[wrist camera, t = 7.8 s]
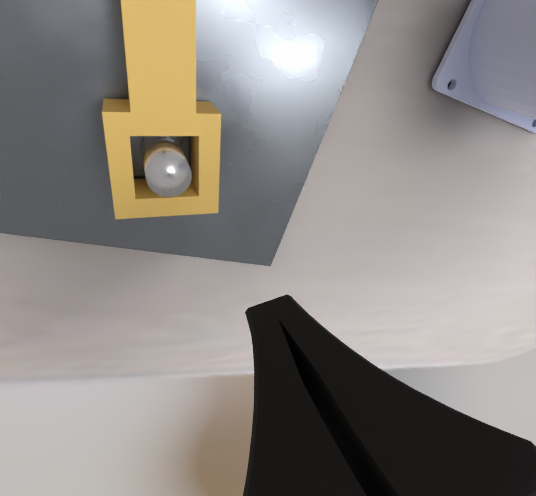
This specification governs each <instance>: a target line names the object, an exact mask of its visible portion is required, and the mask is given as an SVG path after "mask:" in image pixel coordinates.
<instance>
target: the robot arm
mask: <svg viewBox="0 0 536 496" xmlns="http://www.w3.org/2000/svg"><path fill="white" fill-rule="evenodd" d="M450 81H451V85H450V86H449V88H448V87H447V86H448V83H449V82H450ZM432 87H433V89H434V90H435V91H437V92H440V93H442V94H444V95H447V96H449V97H451V98H454V99H456V100H458V101H461V102H463V103H465V104H468V105H470V106H472V107H475V108H477V109H479V110H482V111H484V112H486V113H489V114H491V115H493V116H496V117H498V118H500V119H503V120H505V121H507V122H510V123H512V124H514V125H517V126H519V127H521V128H524V129H526V130H528V131H530V132H533V133H535V134H536V0H471V2H470V4H469V6H468V8H467V10H466V12H465V15H464V17H463V19H462V21H461V23H460V25H459V27H458V29H457V31H456V33H455V35H454V37H453V39H452V41H451V43H450V45H449V47H448V49H447V51H446V53H445V55H444V57H443V59H442V61H441V63H440V65H439V67H438V69H437V71H436V73H435V75H434V77H433V80H432ZM245 313H246V317H247V320H248V324H249V328H250V331H251V336H252V344H253V357H254V412H253V425H252V437H251V445H250V454H249V462H248V469H247V476H246V482H245V488H244V493H243V496H536V446H535V445H534V444H533V443H532V442H530V441H528V440H526V439H523V438H520V437H518V436H515V435H513V434H510V433H508V432H505V431H502V430H500V429H498V428H495V427H493V426H491V425H488V424H485V423H483V422H481V421H479V420H476V419H474V418H472V417H470V416H468V415H465V414H463V413H461V412H459V411H456V410H454V409H452V408H450V407H448V406H446V405H444V404H442V403H440V402H438V401H436V400H434V399H433V398H431V397H429V396H427V395H424V394H422V393H421V392H419V391H417V390H415V389H413V388H411V387H409V386H408V385H406V384H404V383H403V382H401V381H399V380H397V379H396V378H394V377H392V376H391V375H389V374H388V373H386V372H384V371H383V370H381V369H380V368H378V367H377V366H375V365H373V364H372V363H370V362H369V361H368V360H366V359H365V358H363V357H362V356H360V355H359V354H358V353H356V352H355V351H353V350H352V349H351V348H349V347H348V346H347V345H345V344H344V343H343V342H341V341H340V340H339V339H338V338H336V337H335V336H334V335H333V334H331V333H330V332H329V331H328V330H326V329H325V328H324V327H323V326H322V325H321V324H319V323H318V322H317V321H316V320H315V319H314V318H313V317H312V316H310V315H309V314H308V313H307V312H306V311H305V310H304V309H303V308H302V307H301V306H300V305H299V304H298V303H297V302H296V301H295V300H294V299H293V298H292V297H291V296H289V295H284V296H281V297H278V298H276V299H273V300H270V301H267V302H264V303H261V304H258V305H256V306H253V307H250V308H248V309H247V310H246V312H245Z"/></svg>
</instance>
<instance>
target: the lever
mask: <svg viewBox="0 0 536 496" xmlns="http://www.w3.org/2000/svg"><path fill="white" fill-rule="evenodd" d="M120 4H121V15H122V26H123V38H124V49H125V60H126V72H127V83H128V94H129V99H107V98H103V106H102V117H103V125H104V133H105V141H106V149H107V157H108V165H109V173H110V181H111V189H112V197H113V205H114V213H115V219H129V218H145V217H161V216H177V215H194V214H210V213H218V206H219V172H220V138H221V113H220V112H219V111H218V110H217V108H216V107H215V106H214V105H213V104H212V103H211V101H196V0H120ZM130 136H191V173H192V179H191V183H190V185H189V187H188V188H187V189H186V190H185V191H184V192H183V193H181V194H179V195H177V196H173V197H164V196H160V195H158V194H156V193H155V192H153V191H152V190H151V189H150V187H149V186H148V184H147V181H146V179H134V177H133V166H132V156H131V145H130Z"/></svg>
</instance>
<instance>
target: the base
mask: <svg viewBox="0 0 536 496" xmlns="http://www.w3.org/2000/svg"><path fill="white" fill-rule="evenodd" d="M377 2H378V0H196V101H211V103H212V104H213V105H214V106H215V107H216V108H217V110H218V111H219V112H220V113H221V138H220V172H219V206H218V213H210V214H194V215H177V216H161V217H145V218H129V219H115V213H114V205H113V197H112V189H111V181H110V173H109V165H108V157H107V149H106V141H105V133H104V125H103V117H102V106H103V98H107V99H129V94H128V83H127V72H126V60H125V49H124V38H123V26H122V15H121V4H120V0H0V233H6V234H14V235H22V236H30V237H38V238H46V239H54V240H63V241H71V242H79V243H87V244H95V245H103V246H111V247H119V248H127V249H135V250H144V251H152V252H160V253H168V254H176V255H184V256H192V257H200V258H208V259H217V260H225V261H233V262H241V263H249V264H257V265H265V266H271V264H272V261H273V259H274V256H275V254H276V251H277V249H278V246H279V244H280V242H281V239H282V237H283V234H284V232H285V229H286V227H287V224H288V222H289V219H290V217H291V214H292V212H293V209H294V207H295V205H296V202H297V200H298V197H299V195H300V192H301V190H302V187H303V185H304V182H305V180H306V177H307V175H308V172H309V170H310V168H311V165H312V163H313V160H314V158H315V155H316V153H317V150H318V148H319V145H320V143H321V140H322V138H323V135H324V133H325V130H326V128H327V126H328V123H329V121H330V118H331V116H332V113H333V111H334V108H335V106H336V103H337V101H338V98H339V96H340V93H341V91H342V89H343V86H344V84H345V81H346V79H347V76H348V74H349V71H350V69H351V66H352V64H353V61H354V59H355V56H356V54H357V52H358V49H359V47H360V44H361V42H362V39H363V37H364V34H365V32H366V29H367V27H368V24H369V22H370V19H371V17H372V15H373V12H374V10H375V7H376V5H377ZM130 145H131V156H132V166H133V177H134V179H146V181H147V184H148V186H149V187H150V189H151V190H152V191H153V192H155V193H156V194H158V195H160V196H164V197H173V196H177V195H179V194H181V193H183V192H184V191H185V190H186V189H187V188H188V187H189V185H190V183H191V179H192V173H191V136H130Z"/></svg>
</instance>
